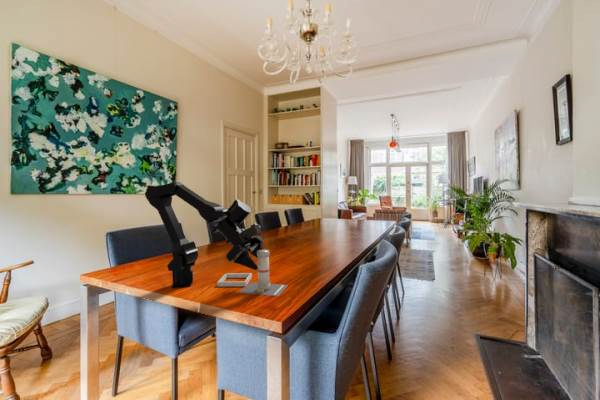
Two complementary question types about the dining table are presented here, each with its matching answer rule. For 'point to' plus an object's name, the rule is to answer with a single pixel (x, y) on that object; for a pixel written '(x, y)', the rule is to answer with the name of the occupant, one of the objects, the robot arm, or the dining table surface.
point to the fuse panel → (254, 289)
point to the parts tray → (235, 283)
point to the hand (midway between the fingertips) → (262, 265)
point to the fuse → (263, 269)
